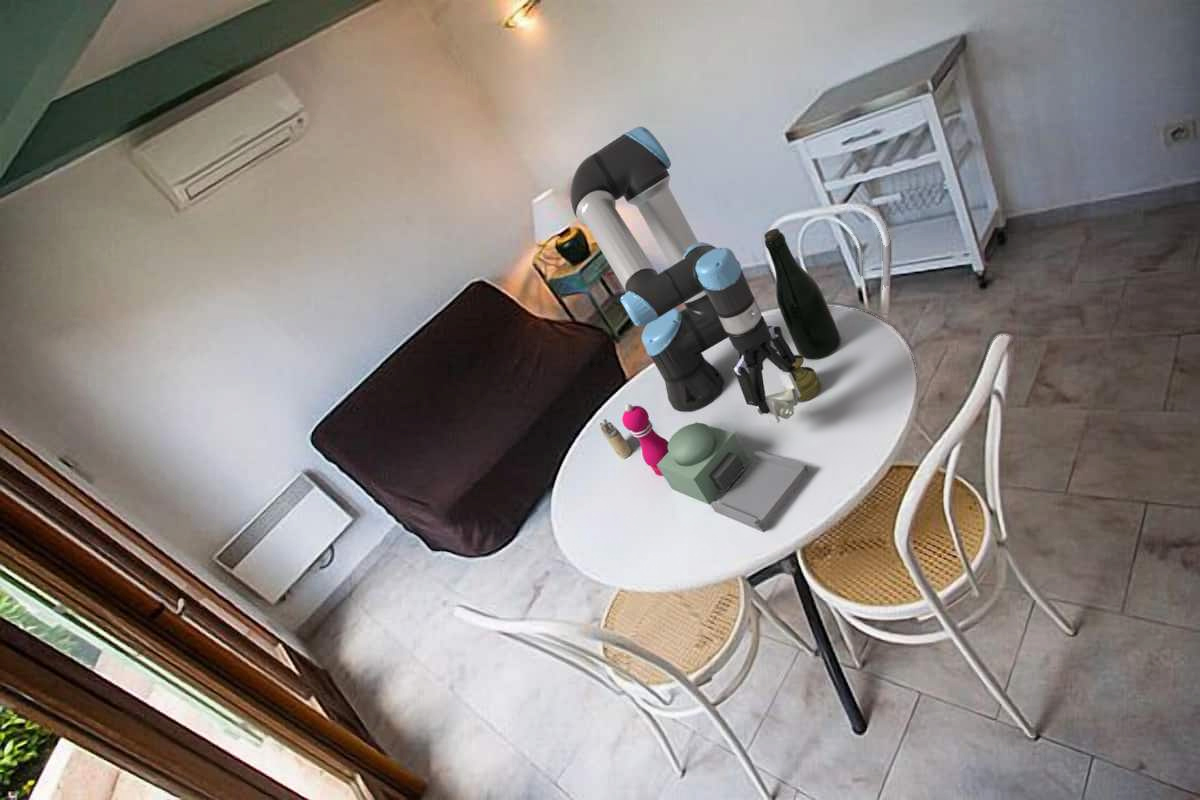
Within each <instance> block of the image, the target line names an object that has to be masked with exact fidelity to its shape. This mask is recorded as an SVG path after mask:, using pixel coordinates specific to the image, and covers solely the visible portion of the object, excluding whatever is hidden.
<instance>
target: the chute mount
mask: <svg viewBox="0 0 1200 800" xmlns="http://www.w3.org/2000/svg"><path fill="white" fill-rule="evenodd" d="M753 455H754V457H755V459H754V461H752V463H751V464H750V465H749V466H748V467H747V469H746V470H745V471H743V473H742V474H741V475H740V477H739V478H737V480H736V482H735V483H734V484H733V485H732V486H731V488H730V489H729V490H728V491H727V492H726V493H725V495H724V496H723V497H722V498H721V499H720V500H719V502H718V501H714V500H713V501H712V502H711V503H710V506H711V508H712V509H713V511H714V512H715V513H717V514H719V515H721V516H724V517H726V518H728V519H731V520H733V521H737V522H739V523H741V524H743V525H746V526H748V527H750V528H753V529H755V530H757V531H760V532H762V533H763V532H764V531H765V530H766V529H767V528H768V527H769V526H770V524H771V523H772V521H773V520H774V519H775V518H776V516H777V515H778V514H779V513H780V511H782V509H783V508H784V506H785V505H786V504H787V503H788V501H789V500H790V498H791V497H792V496H793V495H794V494H795V493H796V492H797V490H798V489H799V488H800V486H801V485H802V484H803V483H804V482H805V480H806V479H807V477H808V476H809V475H810V474H811V471H810V469H809V468H808V466H807V464H804V463H800V462H797V461H793V460H790V459H786V458H783V457H780V456H776V455H772V454H770V453H766V452H764V451H759V450H755V451H754V452H753Z"/></svg>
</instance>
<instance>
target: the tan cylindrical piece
mask: <svg viewBox="0 0 1200 800" xmlns="http://www.w3.org/2000/svg"><path fill="white" fill-rule="evenodd" d="M599 426H600V430H601V432H602V434H603V435H604V437H605V439H606V440H607V441H608V443H609V444H610V446H611V447H612V449H613V450H614V451H615V453H616V454H617V455H618V456H619V457H620V459H626V457H627V458H628V457H630V456H631V455H632V453H633V449H632V448H631V445H629V444H628V442H627V441H626V440H625V438H624V437H623V434H621V432H620V431H619V429H618V428H617V427H616V426H615V425H614V424H613V423H612V422H610V421H608V420H607V419H606V418H604V419H603V423H602V422H600V423H599ZM631 452H632V453H631ZM630 454H631V455H630ZM629 455H630V456H629Z"/></svg>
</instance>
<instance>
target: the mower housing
mask: <svg viewBox="0 0 1200 800" xmlns="http://www.w3.org/2000/svg"><path fill="white" fill-rule="evenodd" d="M668 442H669V443H668V451H669V452H668V453H667V454H666V455H665V456H664V457H663V459H662V460H661V461H660V462H659V463H658V464H657V467H658V468H659V470H660V471H661V473H662V474H663V477H664V479H665V481H666V482H667V483H668V486H669V487H670V488H671V490H673V491H675V492H678V493H680V494H683V495H685V496H687V497H689V498H692V499H695V500H697V501H699V502H702V503H705V504H707V505H710V504H711V503H712V502H713V501H714V500H715V499H716V497H717V496H718V495H719V494H720V493H721V492H722V491H723V492H726V491H727V490H728V489H729V487H731V485H732V484H733V483H734V482H735V480H736V479H738V477H739V476H740V475H741V473H742V472H744V470H745V469H746V467H745V464H746V462H747V461H749V459H750V458H749V455H748V454H747V453H746V451H745V449H744V447H743V445H742V444H741V442H740V440H739V438H738V436H737V434H736V433H735V431H731V430H728V429H723V428H720V427H715V426H712V425H708V424H705V423H702V422H699V421H698V422H697V421H696V422H694V423H691V424H688V425H684V427H683V426H682V427H681V428H679V429H678V430H677V431H676V432H675V433H674V434H673V435H672V436H671V437H670V438H669V440H668ZM710 506H711V505H710Z"/></svg>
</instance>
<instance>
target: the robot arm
mask: <svg viewBox="0 0 1200 800" xmlns="http://www.w3.org/2000/svg"><path fill="white" fill-rule="evenodd" d="M671 166H672V162H671V159H670V158H669V156H668V154H667V152H666V150H665V149H664V147H663V146H662V144H661V143H660V142H659V140H658V139H657V138H656V136H654V134H653V133H652V132H651V131H650V129H647V128H646V127H644V126H637V127H634V128H632V129H631V130H628V131H627V132H624V133H623V134H621V135H620V136H619V137H617V138H616V139H614V140H612V141H611V142H609V143H608V144H607V145H605V146H604V147H602V148H601V149H599V150H597V151H596V152H595V153H593V154H591V155H589V156H588V157H586V158H585V159H584V160H582V162H581V163H580V164H579V166H578V167H577V169H576V171H575V172H574V175H573V178H572V181H571V186H570V203H571V207H572V208H571V209H572V212H573V214H574V216H575V218H576V219H577V221H578V222H579V224H580V225H582V226H583V227H586V228H587V229H588V231H589V233H590V235H592V237H593V239H594V241H595V242H596V244H597V246H598V247H599V249H600V251H601V252H602V254H603V257H604V258H605V259H606V261H607V263H608V264H609V266H610V267H611V268H610V269H612V271H613V273H614V274H615V276H616V278H617V279H618V281H619V282H620V284H621V286H622V288H623V290H624V291H625V294H623V295H621V297H620V302H621V305H623V307H624V309H625V311H626V314H628V316H629V318H630V320H631V322H632V323H633V325H634V326H636V327H638V328H642V327H643V326H645V327H644V329H643V331H642V333H641V341H642V344H643V346H644V348H645V350H646V353H647V355H648V356H649V357H650V358H651V360H652V361H653V363H654V365H655V367H656V368H657V371H658V372H659V374H660V375H661V377H662V379H663V381H664V384H665V390H666V394H667V399H668V402H669V404H670V405H671V407H672V408H673V410H676V411H677V412H680V413H682V412H683V413H688V412H694V411H696V410H699V409H701V408H704V407H706V406H707V405H709V404H710V403H712V402H713V401H714V400H715V399H716V398H717V397H718V396H719V395H720V394H721V392H722V391H723V389H724V385H725V380H724V377H723V376H722V373H721V372H720V371H719V370H718V369H717V368H716V367H715V366H714V365H712V364H711V363H710V362H709V361H708V360H707V359H706V358H705V357H704V355H703V354H702V353H704V352H705V351H707V350H709V349H711V348H712V347H714V346H715V345H718V344H719V343H721V342H723V341H724V340H726V339H729V341H730V343H731V345H732V347H733V348H734V349H735V350H736V351H737V352H738V360H739V361H738V362H737V364H736V365H732V366H731V369H730V370H731V372H732V373H733V374H734V376H736V379H737V381H738V384H739V387H740V389H741V392H742V394H743V397H744V400H745V402H746V405H750V406H753V407H756V406H758V407H759V409H760V411H761V412H762V413H765V414H764V415H765V416H766V419H767V421H769V422H773V423H777V424H779V423H780V422H781V419H780V417H779V416H778V415H777V413H776V410H775V408H774V406H773V404H772V402H771V400H770V398H767V397H766V396H767V395H766V390H765V384H764V377H763V370H764V364H763V363H764V362H765V360H766V359H767V360H769V361H770V362H771V363H772V364H773V365H775V366H776V367H777V369H779V370H780V371H779V372H778V376H779V379H781V383H782V384H783V386H784V388H785V390H786V389H790V388H793V389H794V392H795V394H796V396H797V398H800V396H801V394H800V392H799V390H798V387H797V385H796V383H795V381H796V378H795V376H794V373H793V372H794V371H795V366H792V365H793V363H796V358H795V356H794V355H795V354H794V353H793V351H792V349H791V348H790V346H789V344H788V342H787V341H786V339H785V337H784V335H783V332H782V328H781V326H778V325H777V326H776V325H768V324H767V322H766V320H765V318H764V316H763V314H762V312H761V310H760V307H759V305H758V302H757V300H756V298H755V296H754V294H753V292H752V290H751V287H750V285H749V284H748V281H747V279H746V277H745V274H744V273H743V269H742V267H741V266H742V265H741V264H740V261H739V260H738V259H737V257H736V255H735V253H734V252H733V250H731V249H730V248H728V247H723V248H722V247H718V248H717V247H715V246H714V245H712V244H710V243H707V242H703V241H702V242H699V240H698V239H697V237H696V235H695V233H694V231H693V230H692V227H691V226H690V224H689V222H688V220H687V219H686V217H685V215H684V213H683V211H682V209H681V208H680V205H679V204H678V202H677V200H676V198H675V196H674V194H673V192H672V191H671V189H670V187H669V183H670V179H671V175H670V173H669V172H668V169H670V168H671ZM623 197H624V199H625V201H626V202H627V204H631V205H634V206H635V207H637V209H638V211H639V213H640V214H641V216H642V217H643V218H642V219H643V220H644V221H645V223H646V225H647V227H648V228H649V231H650V232H651V234H652V237H653V238H654V239H655V241H656V243H657V245H658V246H659V249H660V250H661V252H662V254H663V255H664V257H665V259H666V260H667V263H668V264H669V267H668V268H666V269H665V270H663V271H661V272H659V273H658V272H657V270H656V269H655V267H654V266H653V264H652V263H651V260H649V258H648V256H647V255H646V253H645V252H644V250H643V248H642V247H641V246H640V244H639V242H638V241H637V239H636V238H635V236H634V234H633V233H632V232H631V230H630V229H629V227H628V226H627V224H626V222H625V221H624V219H623V218H622V216H621V215H620V212H619V211H618V210H617V207H616V205H617V204H616V201H618V200H619V199H621V198H623ZM682 304H684V306H685V308H683V309H681V311H679V310H678V309H677V307H678V306H680V305H682ZM771 343H772V345H773V346H774V347H773V346H772V345H771Z"/></svg>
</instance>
